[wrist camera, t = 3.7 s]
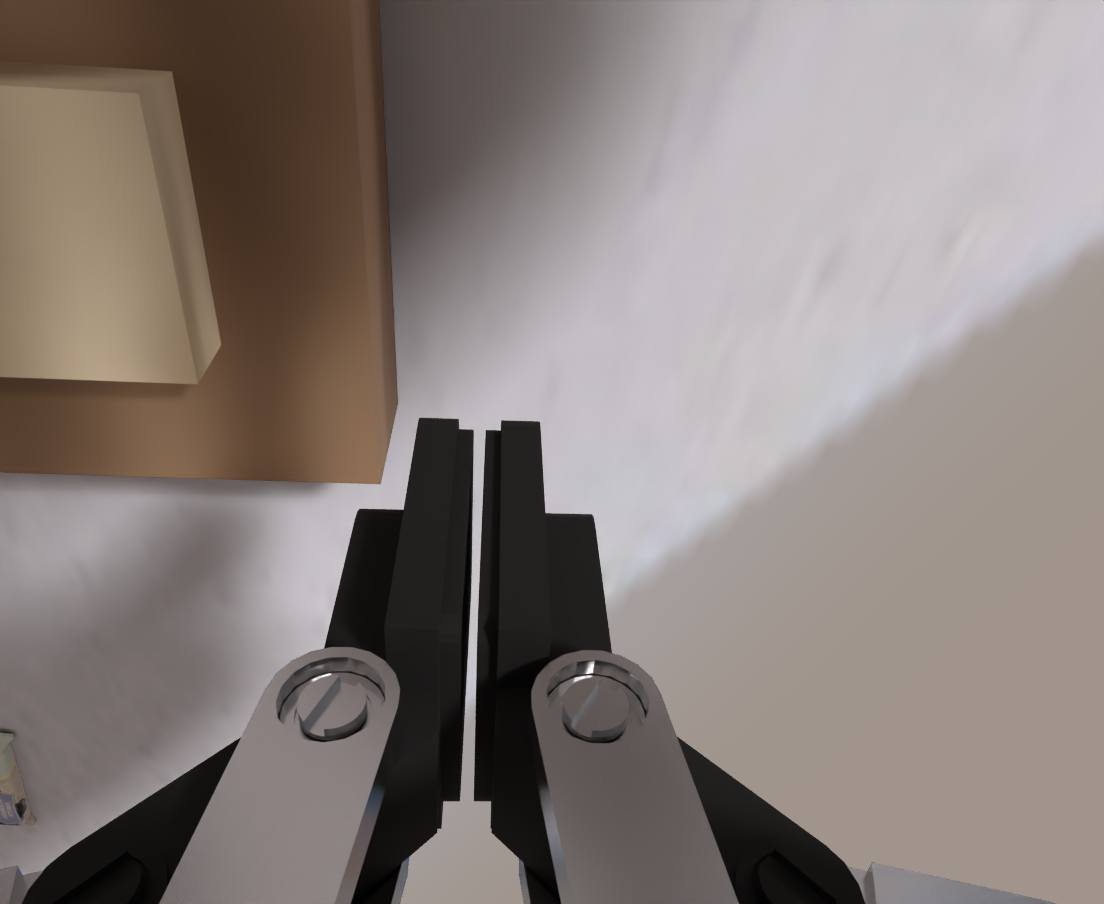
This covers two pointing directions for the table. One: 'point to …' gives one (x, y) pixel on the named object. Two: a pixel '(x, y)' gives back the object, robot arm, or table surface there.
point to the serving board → (243, 246)
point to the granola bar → (11, 787)
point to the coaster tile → (99, 229)
